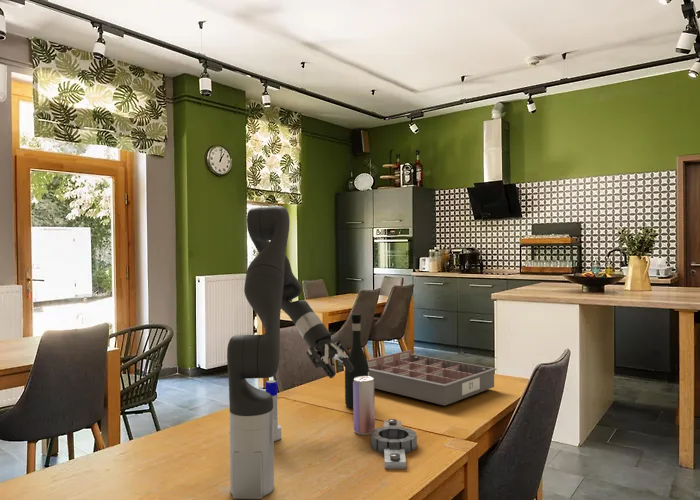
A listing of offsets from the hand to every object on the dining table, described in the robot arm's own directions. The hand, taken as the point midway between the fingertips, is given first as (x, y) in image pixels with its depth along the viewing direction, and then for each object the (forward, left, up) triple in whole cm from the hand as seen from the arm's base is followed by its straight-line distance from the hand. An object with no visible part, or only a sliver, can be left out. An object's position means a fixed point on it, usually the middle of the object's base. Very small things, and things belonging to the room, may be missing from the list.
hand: (342, 373), depth 152 cm
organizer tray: (+41, -27, -16) cm, 51 cm away
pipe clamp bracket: (-14, -14, -15) cm, 25 cm away
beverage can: (-4, -6, -16) cm, 17 cm away
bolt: (-10, +19, -16) cm, 26 cm away
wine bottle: (+20, -3, -16) cm, 25 cm away
